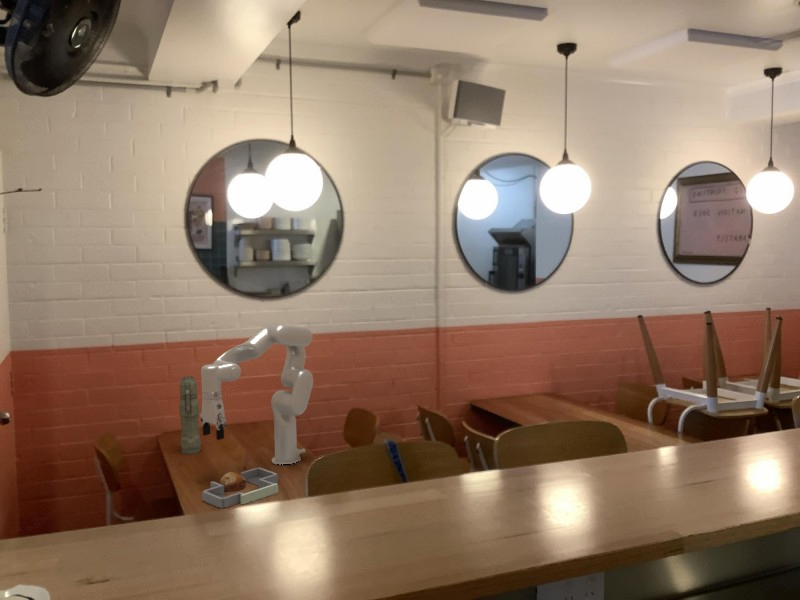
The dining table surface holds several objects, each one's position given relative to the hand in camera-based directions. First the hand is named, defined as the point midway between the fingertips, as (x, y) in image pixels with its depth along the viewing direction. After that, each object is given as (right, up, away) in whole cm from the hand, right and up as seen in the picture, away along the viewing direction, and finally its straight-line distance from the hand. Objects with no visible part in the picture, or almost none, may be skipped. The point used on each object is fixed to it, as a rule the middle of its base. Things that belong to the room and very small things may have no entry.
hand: (213, 436), depth 294 cm
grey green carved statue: (-21, -15, +43) cm, 50 cm away
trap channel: (+14, -20, -10) cm, 26 cm away
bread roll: (+9, -20, -5) cm, 22 cm away
